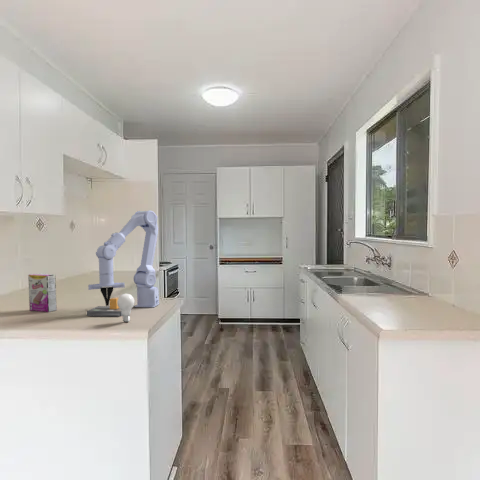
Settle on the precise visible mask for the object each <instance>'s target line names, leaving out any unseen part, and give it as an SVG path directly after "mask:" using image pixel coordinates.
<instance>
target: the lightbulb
mask: <svg viewBox="0 0 480 480" xmlns="http://www.w3.org/2000/svg"><path fill="white" fill-rule="evenodd" d="M117 304H118V307H119V308H120V309H121V312H122V314H123V315H122V321H123V322H124V323H129V322H130V321H131V312H132V310H131V309H133V307H134V306H135V298H134V296H133V295H132V294H130V293H122V294H121V295H119V298H118V300H117Z"/></svg>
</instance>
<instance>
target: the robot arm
mask: <svg viewBox="0 0 480 480" xmlns="http://www.w3.org/2000/svg"><path fill="white" fill-rule="evenodd" d="M158 217H159V216H158V215H157V214H156V213H155V211H153V210H150V209H149V210H144V211H141V210H139V211H138V210H137V211H136V212H135V213H134V214H132V215H131V218H130V219H129V220H128V221H127V222H126V224H125V225H124V226H122V227H123V228H122V229H121V230H120V231H119V232H115V233H111V234H110V238H108V240H106V241H104V243H103V245H100V246H99V247H97V250H96V251H95V256H96V257H97V259H98V273H99V275H98V277H99V280H98V281H99V283H93V284H92V283H91V284H88V286H87V287H88V291H91V290H100V292H101V294H102V296H103V299H104V302H105V306H110V299H111V298H112V295H113V291H114V289H117V288H118V289H119V288H121V289H123V288H125V287H126V286H125V285H126V284H125V282H115V281H114V275H115V274H114V257H116V255H117V251H119V249H120V248H121V247H122V245H124V243H125V242H126V238H127V237H128V236H129V234H131V233H132V232H133V231H134V230H135V229H136V228H137V227H141V229H143V230H144V232H145V236H144V242H143V247H142V254H141V260H140V265H139V266H138V267H137V268H136V271H135V274H134V275H133V282H134V284H135V285H136V295H137V296H136V298H137V302H136V303H137V304H136V305H135V304H134V306H133V307H134V308H156V307H157V306H158V305H160V298H159V297H160V296H159V295H160V294H159V292H160V291H159V288H158V286H155V284H156V282H157V277H156V276H157V275H156V273H157V271H156V270H155V268H154V267H153V266H154V261H155V255H156V249H157V240H158V235H159V234H158V233H159V225H158Z"/></svg>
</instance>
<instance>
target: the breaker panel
mask: <svg viewBox="0 0 480 480" xmlns="http://www.w3.org/2000/svg"><path fill="white" fill-rule="evenodd" d="M91 313H93V314H120V316H119V317H123V314H122V312H121V309H120V308H118V309H110V305H109V306H106V305H97V306H96V307H93V308H91V309H89V310H86V316H88V317H89V316H90V314H91ZM90 317H91V316H90Z"/></svg>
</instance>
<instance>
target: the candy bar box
mask: <svg viewBox="0 0 480 480" xmlns="http://www.w3.org/2000/svg"><path fill="white" fill-rule="evenodd" d="M27 276H28V298H29V299H28V300H29V302H28V303H29V305H28V306H29V311H30V312H41V313H51V311H52V312H55V311H57V285H56V273H55V274H54V273H30V274H28V275H27Z"/></svg>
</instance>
